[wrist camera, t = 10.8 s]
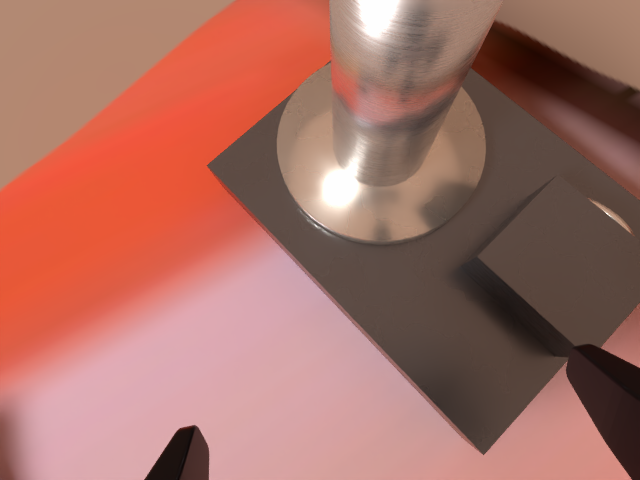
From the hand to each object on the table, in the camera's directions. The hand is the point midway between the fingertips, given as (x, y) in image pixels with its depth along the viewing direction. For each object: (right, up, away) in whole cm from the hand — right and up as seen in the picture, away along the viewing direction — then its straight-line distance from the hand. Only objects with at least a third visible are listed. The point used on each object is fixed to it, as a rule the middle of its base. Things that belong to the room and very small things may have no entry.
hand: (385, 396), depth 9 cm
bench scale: (+5, +5, +14) cm, 16 cm away
